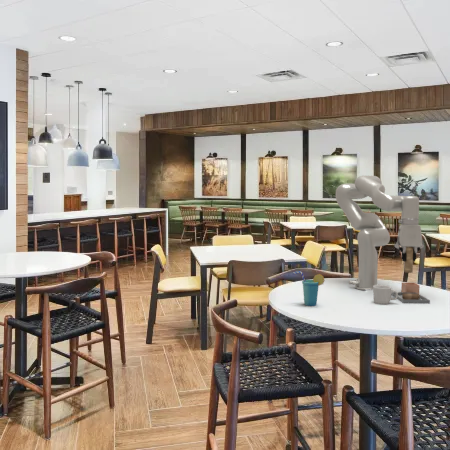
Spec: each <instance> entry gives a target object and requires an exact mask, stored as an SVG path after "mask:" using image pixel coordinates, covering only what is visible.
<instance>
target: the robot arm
mask: <svg viewBox="0 0 450 450" xmlns="http://www.w3.org/2000/svg"><path fill="white" fill-rule="evenodd" d="M385 191H386V189H385V185H384V184H383V183H382V180H381V178H380V177H378V176H376V175H359V176H358V177H356V178H355V180H354V183H342V184H340V185H339V186H337V188H336V189H335V201H336V203H337V204H338V207H339V208H340V209H341V210H342V212H343V213H344V214H345V216H346V218H347V220H348V222H349V223H350V225H351V226H352V228H353V229H354V230H355V231H359V232H358V233H357V244H358V245H357V246H358V277H357V278H356V279H355V280H349V281H348V285H355V286H354V288H355V289H356V290H361V291H367V290H369V291H370V290H372V291H373V286H374V285H378V269H379V268H378V261H379V259H378V258H379V255H378V251H377V248H376V247H384V246H387V245H388V244H389V243H390V240H391V237H390V232H389V230H388V229H387V227H386V226H385V224H384V223H383V221H382V219H381V218H380V217H379V215H377V214H376V213H373V212H364V211H363V210H362V208H361V207H360V206H359V204H358V203H357V202H356V201H354V200H361V199H362V200H363V199H366V198H367V197H369V198H371V201H372V203H373V204H374V206H376V207H377V208H379V209H380V210H383V211H386V212H401V217H400V219H398V223H399V224H400V225H399V227H398V231H397V232H398V233H397V241H396V242H395V244H394V245H393V246H394V247H395V249H398V250H399V251H400V252H401V260H402V261H403V262H404V263H405V262H406V252H405V251H406V247H413V263H414V262H415V263H416V260H417V254H418V252H419V251H420V250H421V249H423V248H425V245H424V243H423V238H422V237H423V235H422V228H421V225H419V215H420V198H419V197H418V196H416V195H415V196H414V195H410V196H409V195H406V196H405V195H388V194H386V193H385Z"/></svg>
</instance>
